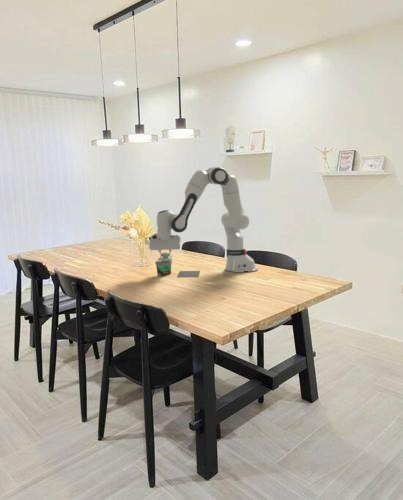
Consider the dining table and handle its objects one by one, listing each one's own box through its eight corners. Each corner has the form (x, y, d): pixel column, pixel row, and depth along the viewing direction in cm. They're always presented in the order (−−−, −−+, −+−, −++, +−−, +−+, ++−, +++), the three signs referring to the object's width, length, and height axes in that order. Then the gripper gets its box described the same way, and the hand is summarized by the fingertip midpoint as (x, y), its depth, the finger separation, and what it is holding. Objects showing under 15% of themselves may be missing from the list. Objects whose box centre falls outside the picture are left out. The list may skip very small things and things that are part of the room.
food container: (161, 277, 255) (160, 262, 254) (155, 276, 260) (155, 261, 258) (176, 274, 263) (175, 259, 261) (171, 272, 268) (170, 258, 266)
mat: (200, 271, 269) (200, 270, 269) (198, 277, 252) (198, 277, 252) (179, 271, 270) (179, 271, 270) (176, 278, 253) (176, 277, 253)
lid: (172, 256, 266) (172, 250, 265) (170, 260, 253) (169, 254, 252) (161, 256, 266) (160, 251, 265) (157, 260, 253) (157, 255, 253)
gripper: (180, 234, 259) (181, 255, 262) (150, 235, 260) (151, 255, 263) (179, 235, 253) (180, 257, 255) (148, 236, 254) (149, 257, 257)
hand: (165, 256), depth 259 cm, fingers closed on lid, 3 cm apart
